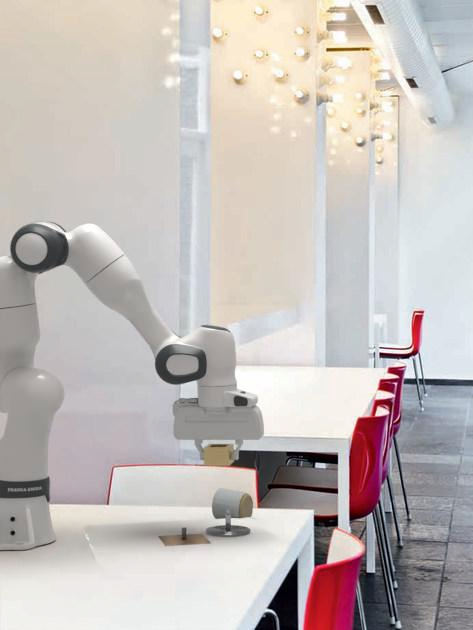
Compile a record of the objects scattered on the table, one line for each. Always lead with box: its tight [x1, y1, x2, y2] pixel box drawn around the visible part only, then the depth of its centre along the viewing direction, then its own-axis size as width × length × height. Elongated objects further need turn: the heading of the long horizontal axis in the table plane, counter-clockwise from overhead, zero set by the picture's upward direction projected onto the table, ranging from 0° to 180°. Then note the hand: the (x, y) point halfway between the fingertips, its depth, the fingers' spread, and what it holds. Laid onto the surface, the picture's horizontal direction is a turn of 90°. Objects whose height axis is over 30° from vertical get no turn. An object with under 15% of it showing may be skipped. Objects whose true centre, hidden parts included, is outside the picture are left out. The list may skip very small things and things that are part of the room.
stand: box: [157, 527, 212, 547], centre depth 242 cm, size 10×10×4 cm
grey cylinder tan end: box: [211, 487, 254, 520], centre depth 271 cm, size 11×8×8 cm
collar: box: [203, 443, 235, 467], centre depth 247 cm, size 6×6×4 cm
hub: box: [205, 510, 251, 538], centre depth 250 cm, size 10×10×6 cm
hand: (219, 459), depth 247 cm, fingers closed on collar, 6 cm apart
